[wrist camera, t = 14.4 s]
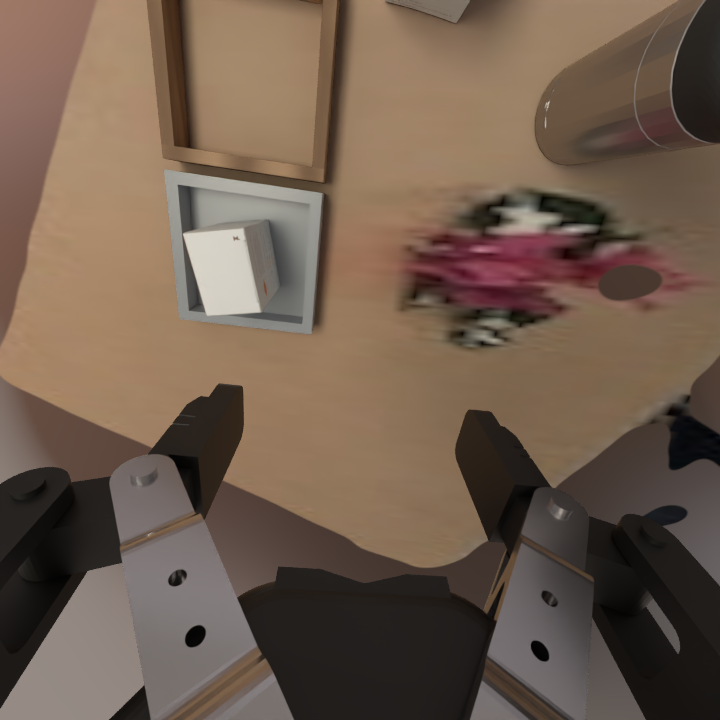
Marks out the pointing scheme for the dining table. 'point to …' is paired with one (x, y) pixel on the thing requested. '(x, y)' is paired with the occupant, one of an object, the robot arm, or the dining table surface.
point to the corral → (174, 100)
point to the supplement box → (437, 7)
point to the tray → (289, 237)
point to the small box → (234, 266)
